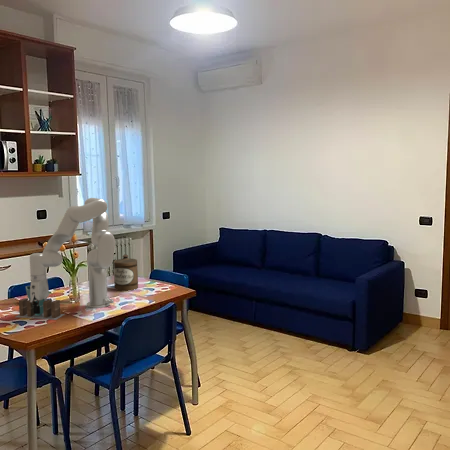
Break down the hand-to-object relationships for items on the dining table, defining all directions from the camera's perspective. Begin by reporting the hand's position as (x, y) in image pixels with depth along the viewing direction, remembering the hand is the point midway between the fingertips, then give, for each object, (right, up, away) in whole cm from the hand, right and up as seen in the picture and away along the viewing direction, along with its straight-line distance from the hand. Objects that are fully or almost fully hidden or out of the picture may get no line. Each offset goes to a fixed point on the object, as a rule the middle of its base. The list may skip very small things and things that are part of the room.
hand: (39, 311), depth 240 cm
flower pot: (-13, 0, +26) cm, 29 cm away
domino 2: (-4, -2, +1) cm, 5 cm away
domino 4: (+9, -2, -1) cm, 9 cm away
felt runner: (0, -2, 0) cm, 2 cm away
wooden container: (+32, +4, +58) cm, 67 cm away
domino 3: (+4, -2, -1) cm, 5 cm away
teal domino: (0, -1, 0) cm, 1 cm away
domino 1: (-9, -2, +2) cm, 9 cm away
